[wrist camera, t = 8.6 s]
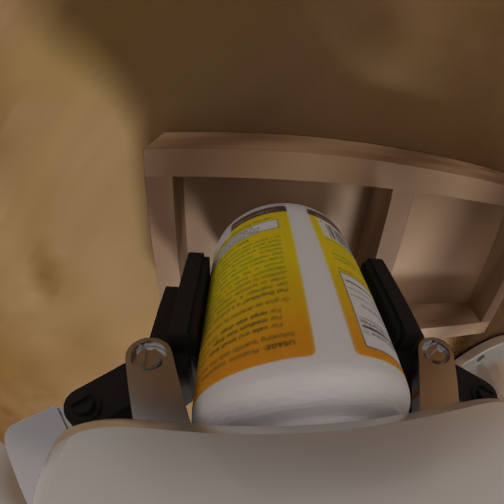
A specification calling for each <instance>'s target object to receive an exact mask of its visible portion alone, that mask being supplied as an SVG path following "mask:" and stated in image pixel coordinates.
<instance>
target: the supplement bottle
mask: <svg viewBox="0 0 504 504" xmlns="http://www.w3.org/2000/svg"><path fill="white" fill-rule="evenodd" d="M410 403H411V398H410V391H409V387H408V384H407V380H406V377H405V375H404V372H403V370H402V367H401V365H400V362H399V359H398V357H397V354H396V351H395V349H394V347H393V344H392V342H391V340H390V337H389V335H388V333H387V330H386V328H385V325H384V323H383V320H382V318H381V316H380V313H379V311H378V309H377V307H376V304H375V302H374V300H373V297H372V295H371V293H370V291H369V288H368V286H367V284H366V282H365V280H364V278H363V276H362V273H361V271H360V269H359V267H358V265H357V263H356V261H355V259H354V257H353V255H352V253H351V251H350V249H349V247H348V245H347V243H346V241H345V239H344V237H343V235H342V233H341V232H340V230H339V229H338V227H337V226H336V225H335V224H334V223H333V222H332V221H331V220H330V219H329V218H328V217H326V216H325V215H324V214H322V213H320V212H319V211H317V210H315V209H312V208H310V207H307V206H304V205H300V204H294V203H274V204H268V205H264V206H261V207H257V208H255V209H252V210H250V211H248V212H246V213H245V214H243V215H241V216H240V217H238V218H237V219H236V220H235V221H233V222H232V223H231V224H230V225H229V226H228V228H227V229H226V230H225V231H224V233H223V234H222V236H221V238H220V239H219V242H218V244H217V246H216V250H215V253H214V258H213V263H212V269H211V276H210V282H209V289H208V296H207V302H206V309H205V315H204V323H203V330H202V337H201V343H200V353H199V359H198V367H197V374H196V382H195V390H194V398H193V407H192V424H203V425H222V426H298V425H316V424H330V423H341V422H351V421H360V420H368V419H375V418H382V417H389V416H395V415H401V414H407V413H409V410H410Z"/></svg>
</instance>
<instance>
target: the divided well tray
mask: <svg viewBox="0 0 504 504" xmlns="http://www.w3.org/2000/svg"><path fill="white" fill-rule="evenodd" d="M143 158H144V171H145V183H146V194H147V204H148V213H149V222H150V230H151V238H152V246H153V253H154V260H155V267H156V274H157V280H158V286H159V292H160V298H161V299H162V296H163V293H164V290H165V288H166V287H167V286H172V287H179V284H180V281H181V277H182V274H183V270H184V267H185V263H186V260H187V256H188V253H189V252H199V253H204V257H210V276H211V269H212V263H213V258H214V253H215V250H216V246H217V244H218V242H219V239H220V238H221V236H222V234H223V233H224V231H225V230H226V229H227V228H228V226H229V225H230V224H231V223H232V222H233V221H235V220H236V219H237V218H238V217H240V216H241V215H243V214H245V213H246V212H248V211H250V210H252V209H255V208H257V207H261V206H264V205H268V204H274V203H294V204H300V205H304V206H307V207H310V208H312V209H315V210H317V211H319V212H320V213H322V214H324V215H325V216H326V217H328V218H329V219H330V220H331V221H332V222H333V223H334V224H335V225H336V226H337V227H338V229H339V230H340V232H341V233H342V235H343V237H344V239H345V241H346V243H347V245H348V247H349V249H350V251H351V253H352V255H353V257H354V259H355V261H356V263H357V265H358V267H359V269H360V268H361V265H362V263H363V262H366V260H367V259H368V258H374V259H382V260H383V261H384V263H385V264H386V266H387V268H388V270H389V271H390V273H391V275H392V277H393V278H394V280H395V282H396V284H397V286H398V287H399V289H400V291H401V293H402V295H403V296H404V298H405V300H406V302H407V304H408V306H409V308H410V309H411V311H412V313H413V315H414V317H415V319H416V321H417V323H418V325H419V327H420V329H421V331H422V333H423V335H424V337H425V338H428V337H435V338H438V339H441V338H449V337H457V336H464V335H471V334H478V333H484V332H485V330H486V328H487V327H488V325H489V323H490V322H491V320H492V318H493V317H494V315H495V313H496V311H497V310H498V308H499V306H500V304H501V302H502V301H503V299H504V172H501V171H498V170H494V169H490V168H487V167H483V166H479V165H475V164H471V163H467V162H463V161H459V160H455V159H450V158H446V157H441V156H437V155H432V154H427V153H422V152H417V151H412V150H406V149H400V148H395V147H389V146H382V145H376V144H369V143H362V142H355V141H347V140H338V139H329V138H320V137H309V136H298V135H284V134H268V133H247V132H164V133H163V134H161V135H160V136H159V137H158V138H157V139H155V140H154V141H153V142H152V143H151V144H149V145H148V146H147V147H146V148H145V149H143Z"/></svg>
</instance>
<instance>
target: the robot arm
mask: <svg viewBox="0 0 504 504" xmlns="http://www.w3.org/2000/svg"><path fill="white" fill-rule="evenodd" d="M360 271H361V273H362V276H363V278H364V280H365V282H366V284H367V286H368V288H369V291H370V293H371V295H372V297H373V300H374V302H375V304H376V307H377V309H378V311H379V313H380V316H381V318H382V320H383V323H384V325H385V328H386V330H387V333H388V335H389V337H390V340H391V342H392V344H393V347H394V349H395V351H396V354H397V357H398V359H399V362H400V365H401V367H402V370H403V372H404V375H405V377H406V380H407V384H408V387H409V391H410V398H411V403H410V410H409V413H407V414H401V415H395V416H389V417H382V418H375V419H368V420H360V421H351V422H341V423H330V424H316V425H298V426H222V425H203V424H191V422H190V419H189V415H188V412H187V408H186V405H188V404H189V403H191V402H192V401H193V398H194V390H195V382H196V374H197V367H198V359H199V353H200V343H201V337H202V330H203V323H204V315H205V309H206V302H207V296H208V289H209V282H210V257H204V253H199V252H189V253H188V256H187V260H186V263H185V267H184V270H183V274H182V277H181V281H180V284H179V287H172V286H167V287H166V288H165V290H164V293H163V296H162V299H161V303H160V306H159V309H158V312H157V315H156V319H155V322H154V325H153V329H152V332H151V335H150V338H144V339H140V340H138V341H136V342H134V343H133V344H132V345H131V346H130V347H129V348H128V350H127V352H126V356H125V362H126V363H124V364H123V365H121V366H119V367H117V368H115V369H114V370H112V371H110V372H108V373H106V374H104V375H103V376H101V377H99V378H97V379H95V380H93V381H92V382H90V383H88V384H86V385H84V386H82V387H80V388H78V389H77V390H75V391H73V392H72V393H71V394H70V395H69V396H68V397H67V398H66V400H65V403H64V405H63V406H61V407H59V408H58V407H57V406H56V405H55V406H53V407H51V408H48V409H46V410H44V411H42V412H40V413H37V414H35V415H33V416H31V417H29V418H26V419H24V420H22V421H20V422H17V423H15V424H13V425H12V426H10V427H9V428H8V430H7V431H6V434H5V438H4V439H5V446H6V449H7V452H8V455H9V458H10V461H11V464H12V467H13V469H14V472H15V475H16V477H17V480H18V483H19V485H20V488H21V490H22V492H23V495H24V497H25V499H26V502H27V504H504V335H501V336H497V337H495V338H492V339H489V340H487V341H485V342H483V343H481V344H479V345H477V346H476V347H474V348H472V349H470V350H469V351H467V352H466V353H464V354H463V355H461V356H460V357H458V358H457V359H456V360H454V354H453V351H452V349H451V348H450V346H449V345H448V344H447V343H446V342H444V341H443V340H441V339H438V338H435V337H428V338H425V337H424V335H423V333H422V331H421V329H420V327H419V325H418V323H417V321H416V319H415V317H414V315H413V313H412V311H411V309H410V308H409V306H408V304H407V302H406V300H405V298H404V296H403V295H402V293H401V291H400V289H399V287H398V286H397V284H396V282H395V280H394V278H393V277H392V275H391V273H390V271H389V270H388V268H387V266H386V264H385V263H384V261H383V260H382V259H374V258H368V259H367V260H366V262H363V263H362V265H361V268H360Z"/></svg>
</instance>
